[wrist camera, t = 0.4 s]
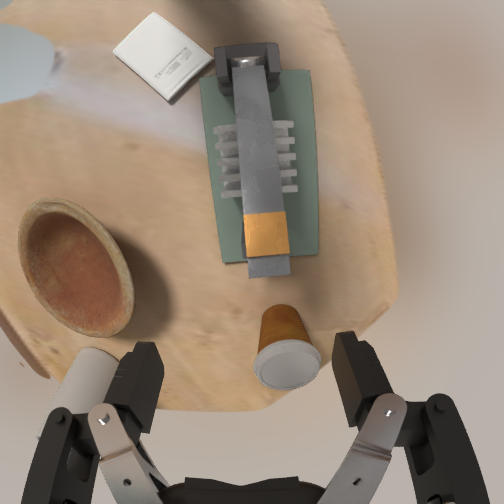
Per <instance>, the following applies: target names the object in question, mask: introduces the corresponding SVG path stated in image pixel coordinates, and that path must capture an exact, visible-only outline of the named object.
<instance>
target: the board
mask: <svg viewBox="0 0 504 504" xmlns="http://www.w3.org/2000/svg"><path fill="white" fill-rule="evenodd" d="M279 79H280V84H279V86H278V87H277V89H276V90H275V92H268V94H269V100H270V107H271V113H272V120H273V121H278V120H287V121H293V125H294V127H293V128H288V136H291V137H294V138H295V144H289V150H290V151H292V152H294V153H296V160H290V164H291V165H292V166H293V167H294V168H296V169H297V176H291V179H292V180H293V181H294V182H295V183H296V184H297V186H298V192H286V193H282V195H283V203H284V211H285V213H286V222H287V231H288V241H289V251H290V253H289V257H293V256H304V255H314V254H318V179H317V156H316V138H315V124H314V111H313V99H312V89H311V79H310V70H281V73H280V75H279ZM199 81H200V91H201V101H202V111H203V120H204V129H205V138H206V146H207V154H208V162H209V170H210V178H211V186H212V193H213V201H214V208H215V215H216V222H217V229H218V236H219V243H220V249H221V256H222V262H223V263H226V262H238V261H248V260H247V259H243V255H242V247H241V235H242V221H244V217H243V215H244V213H243V201H242V196H239V197H230V198H221V190H222V188H223V185H224V182H221V183H220V182H219V175H220V173H221V172H222V166H217V159H218V158H219V157H220V156H221V154H220V150H216V149H215V144H216V143H218V142H219V136H218V134H214V131H213V128H214V127H217V126H222V125H230V124H236V115H235V102H234V95H229V96H223V95H222V94H221V92H220V91H219V89H218V81H217V76H209V77H202V78H199Z"/></svg>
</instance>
